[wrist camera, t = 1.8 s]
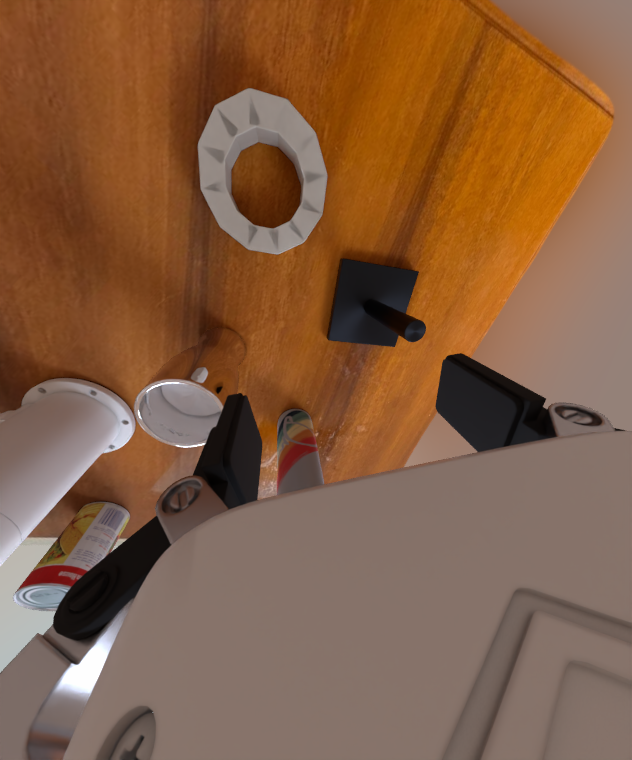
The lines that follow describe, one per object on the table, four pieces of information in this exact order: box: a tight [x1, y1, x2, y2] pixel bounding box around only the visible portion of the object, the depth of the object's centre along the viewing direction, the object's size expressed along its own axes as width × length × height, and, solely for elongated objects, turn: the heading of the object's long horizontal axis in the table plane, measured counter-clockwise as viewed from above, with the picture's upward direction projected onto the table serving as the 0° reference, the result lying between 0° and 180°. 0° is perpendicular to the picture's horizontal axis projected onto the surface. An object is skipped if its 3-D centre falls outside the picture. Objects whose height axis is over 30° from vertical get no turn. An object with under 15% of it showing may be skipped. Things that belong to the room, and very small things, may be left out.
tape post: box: [327, 258, 426, 347], centre depth 26 cm, size 10×10×12 cm
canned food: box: [13, 502, 130, 611], centre depth 37 cm, size 8×8×12 cm
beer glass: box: [134, 327, 246, 447], centre depth 24 cm, size 7×7×15 cm
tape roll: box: [198, 88, 327, 254], centre depth 22 cm, size 11×11×3 cm
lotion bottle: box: [277, 409, 324, 495], centre depth 30 cm, size 6×6×20 cm
